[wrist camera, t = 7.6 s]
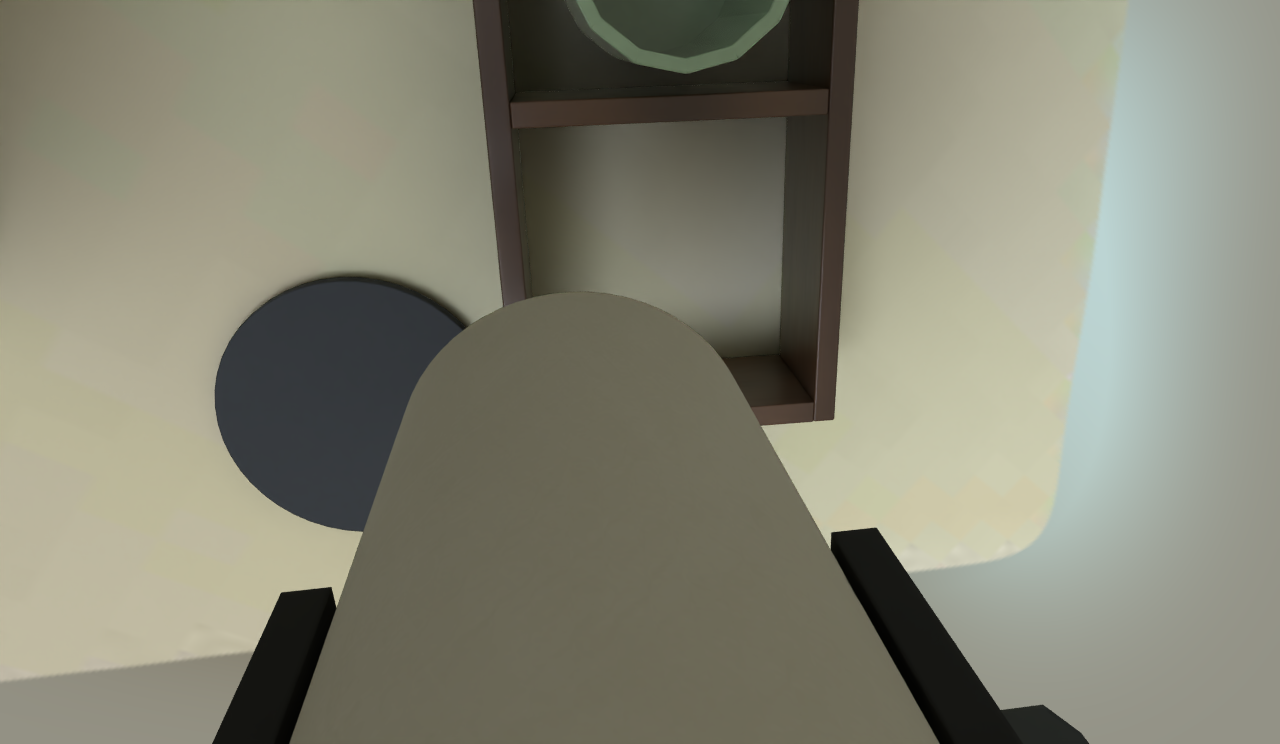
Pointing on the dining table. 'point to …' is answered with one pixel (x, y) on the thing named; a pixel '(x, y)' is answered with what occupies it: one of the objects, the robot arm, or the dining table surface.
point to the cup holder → (808, 100)
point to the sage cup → (676, 29)
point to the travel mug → (595, 558)
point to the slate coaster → (326, 391)
